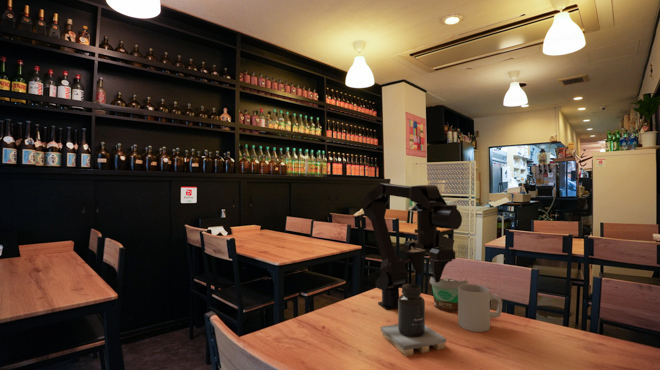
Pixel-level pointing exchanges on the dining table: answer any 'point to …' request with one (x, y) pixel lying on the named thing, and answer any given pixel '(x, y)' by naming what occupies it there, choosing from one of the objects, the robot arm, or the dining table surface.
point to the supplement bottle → (411, 311)
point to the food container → (446, 294)
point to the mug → (476, 307)
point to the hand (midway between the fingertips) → (427, 278)
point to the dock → (413, 340)
